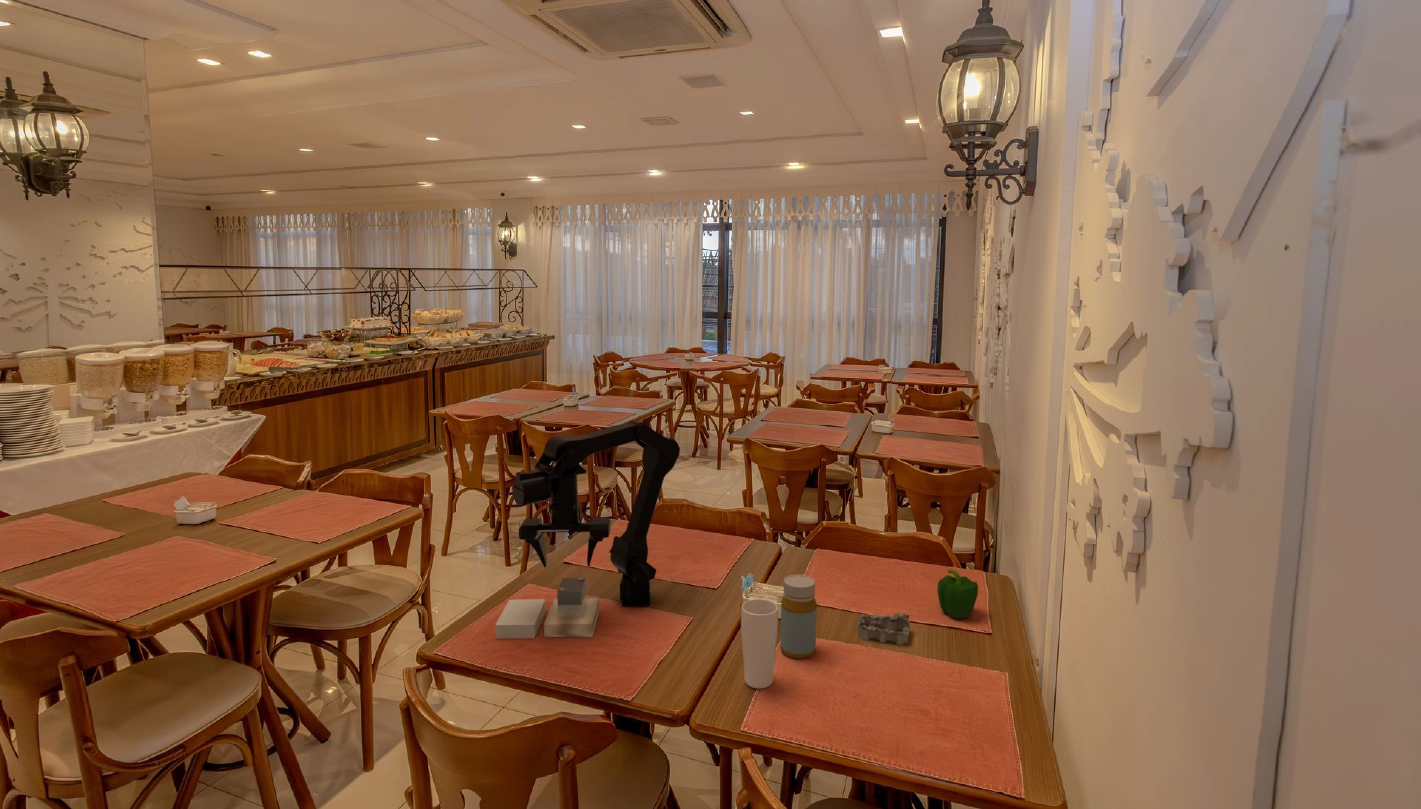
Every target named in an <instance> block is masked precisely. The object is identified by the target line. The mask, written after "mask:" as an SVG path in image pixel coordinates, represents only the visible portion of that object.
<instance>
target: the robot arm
mask: <svg viewBox="0 0 1421 809" xmlns="http://www.w3.org/2000/svg"><path fill="white" fill-rule="evenodd" d="M633 442H635V444H637V445H638V446H640V447H641V448H642V449H643V451H642V455H641V459H642V464H643V465H642V466H643V472H642V477H641V481H640V483H639V486H638V489H637V494H636V496H635V499H634V503H633V506H632V509H631V512H630V515H629V516H630V517H629V520H628V523H627V527H626V529H625V531H624V532H623V533H622V534H621V535H620V537H619V536H617V535H614V537H613V540H612V546H611V548H610V549H609V552H608V553H609V554H610V555H609V556H610V560H609V561H610V562H611V563H612V565H613V566H614V567H615V568H616V569H617V572H618V573H620V574H621V575H622V576H621V579H620V581H619V600H620V601H621V606H622V607H650V605H651V601H652V600H651V599H652V592H651V580H654V579H656V578H655V577H656V574H657V569H656V568H655V567H653V566H652V564H650V563H649V562H648V555H649V547H648V539H647V536H648V533H649V529H650V526H651V522H652V520H653V517H654V513H655V508H656V507H657V504H658V499H659V497H660V492H661V489H662V487H663V484H664V480H665V477H666V476H667V475H668V474H669V473H670V471H672V470H673V469H674V467H675V465H676V463H677V460H678V458H679V457H680V452H681V447H680V446H679V443H678V441H677V440H675V439H673V438H670V437H668V436H665V435H663V434H661V433H659V432H658V431H656V430H654V429H652V428H651V427H650V426H648V425H647V424H646V422H645V423H644V422H642V421H639V420H634V419H632V420H629V421H628V422H625V423H621V424H618V425H614V426H610V427H607V428H604V429H600V430H597V431H592V432H589V433H586V434H564V435H555V436H552V437H550V438H548V439H547V442H546V443H545V445H544V449H543V452H542V453H541V455H540V457H539V459H538V460H537V462H536V464H535V465H534V469H533V470H527V471H517V472H516V473H515V479H513V483H512V486H511V491H512V497H513V500H514V502H515V504H516V505H517V506H518V507H523V506H527V505H533V504H537V503H541V502H546V501H548V514H549V515H550V516H551V518H550V519H551V523H543V519H542V518H541V517H540V518H525V519H524V520H523V521H522V522H521V524H520V526H519V527H518V539H519V540H522V541H525V543H526V544H529V545H530V546H531V547H532V548H533V550H534V551H535V553H536V554H537V556H538V558H539V559H540V562H541V564H542V566H543V568H547V566H548V557H547V551H546V549H547V548H546V544H545V543H546V542H545V533H551V534H552V533H589V537H588V541H587V554H586V555H587V556H586V562H587V563H586V564H587V567H590V566H591V563H592V558H593V555H594V552H595V549H596V547H597V544H598V542H599V543H600V542H604V539H607V538H609V536H610V534H611V529H612V526H611V525H612V523H611V519H610V518H609V517H608V516H601V517H600V516H599V517H595V516H594V517H591V520H590V522H580V521H581V519H582V503H581V502H579V493H578V491H579V490H578V475H583V474H586V473H587V471H588V470H587V469H585V468H584V467H582V466H581V463H583V462H585V461H586V460H587V459H588V458H589V457H590V456H592V455H594V454H596V453H599V452H604V451H607V450H611V449H612V448H616V447H619V446H622V445H626V444H630V443H633ZM552 463H553V464H554V465H551V464H552Z"/></svg>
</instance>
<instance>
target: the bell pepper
mask: <svg viewBox="0 0 1421 809" xmlns="http://www.w3.org/2000/svg"><path fill="white" fill-rule="evenodd" d="M947 573H948V574H953V575H954V576H952V575H947V574H946V575H944V577H943V578H940V579H939V581H938V582H937V597H938V602H939V606H940V609H941V611H942V612H943V613H944V614H947V615H948V616H949V617H950V618H953V619H957V620H962V619H963V620H964V619H966V618H968V617H969V616H971V614H972V613H973V610H974V607H975V605H976V602H977V598H978V596H979V595H978V594H979V585H978V582H977V581H973V580H971V579H970V578H968V577H967V576H966V575H965V576H960V574H959V572H958V571H957V570H955V569H953V568H948V569H947Z"/></svg>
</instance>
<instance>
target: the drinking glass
mask: <svg viewBox="0 0 1421 809" xmlns="http://www.w3.org/2000/svg"><path fill="white" fill-rule="evenodd" d="M740 610H741V611H740V612H741V613H740V614H741V615H740V629H741V630H740V632H741V642H742V643H741V644H742V657H743V670H744V671H743V672H744V674H743V675H744V682H745V684H746V685H747V686H749V687H750V688H753V689H766V688H768V687H770V686H771V685H772V684H773V682H774V669H775V660H776V658H775V657H776V650H777V640H778V630H779V606H778V605H777V603H776V602H774V601H771V600H769V599H763V598H756V599H755V598H754V599H748V600H746V601H745V602H743V603H742V604H741V609H740Z"/></svg>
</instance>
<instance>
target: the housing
mask: <svg viewBox="0 0 1421 809" xmlns="http://www.w3.org/2000/svg"><path fill="white" fill-rule="evenodd" d="M556 594H557V595H556V596H557V597H556V599H557V601H558V619H570V618H582V617H583V613H584V610H585V607H586V599H587V579H586V577H566V578H564V577H563V578H562V579H561V582H560V584H559V587H558V589H557V592H556Z"/></svg>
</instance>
